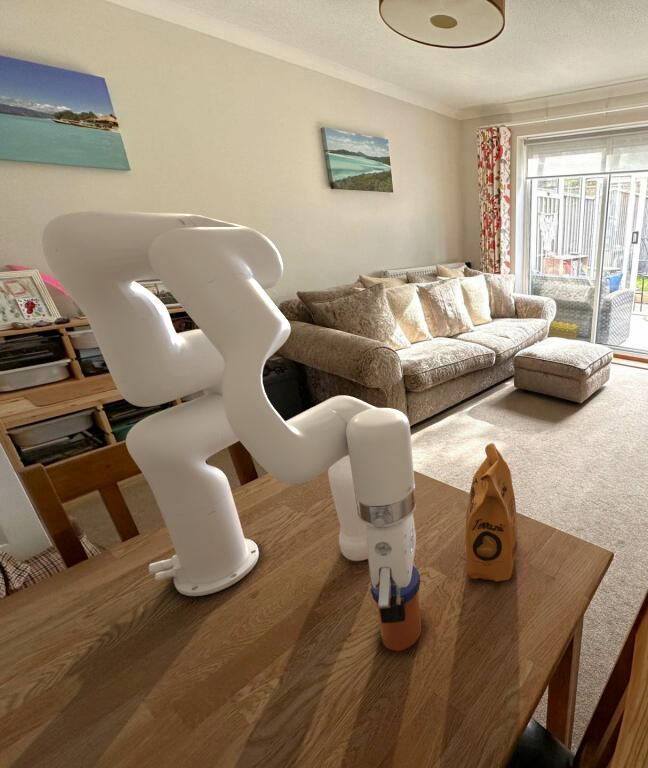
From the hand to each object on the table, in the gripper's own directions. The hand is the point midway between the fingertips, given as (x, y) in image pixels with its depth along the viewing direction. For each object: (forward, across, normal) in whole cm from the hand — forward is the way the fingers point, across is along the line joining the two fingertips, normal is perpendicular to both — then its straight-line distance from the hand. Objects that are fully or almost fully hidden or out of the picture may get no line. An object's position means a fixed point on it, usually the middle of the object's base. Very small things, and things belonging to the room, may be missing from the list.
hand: (397, 596), depth 60 cm
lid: (-3, 0, 0) cm, 3 cm away
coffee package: (+8, +14, -15) cm, 22 cm away
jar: (+8, 0, 0) cm, 8 cm away
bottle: (+8, +19, +10) cm, 22 cm away
